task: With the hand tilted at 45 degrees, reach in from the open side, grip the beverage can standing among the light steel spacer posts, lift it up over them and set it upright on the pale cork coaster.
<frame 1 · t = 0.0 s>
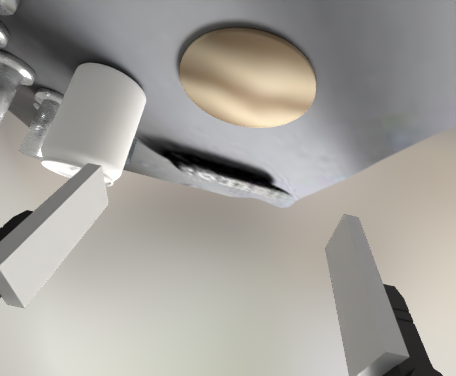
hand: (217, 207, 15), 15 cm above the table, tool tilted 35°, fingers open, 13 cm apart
spacer posts: (114, 84, 32), on the table
cork coaster: (246, 86, 28), on the table
beverage can: (114, 82, 32), on the table
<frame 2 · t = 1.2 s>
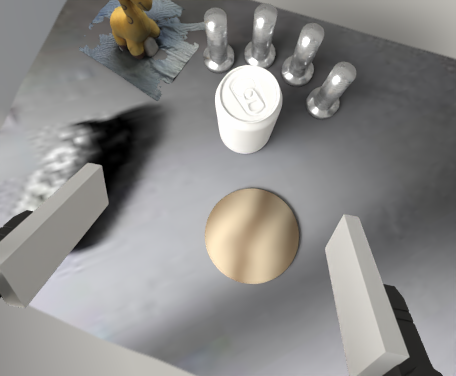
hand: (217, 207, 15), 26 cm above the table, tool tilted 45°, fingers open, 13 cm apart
spacer posts: (245, 130, 42), on the table
cork coaster: (251, 234, 40), on the table
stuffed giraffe: (144, 38, 45), on the table
beverage can: (244, 130, 42), on the table
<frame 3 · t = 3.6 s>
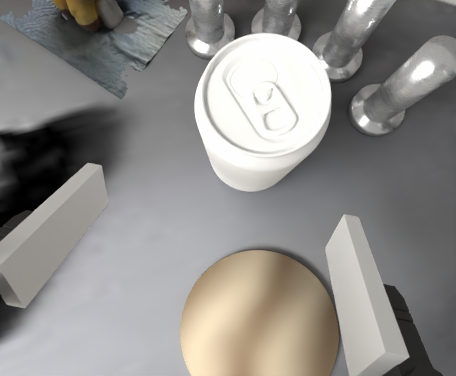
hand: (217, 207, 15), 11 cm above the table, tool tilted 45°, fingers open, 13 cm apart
spacer posts: (250, 151, 26), on the table
cork coaster: (258, 328, 24), on the table
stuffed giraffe: (102, 1, 29), on the table
beverage can: (250, 152, 26), on the table
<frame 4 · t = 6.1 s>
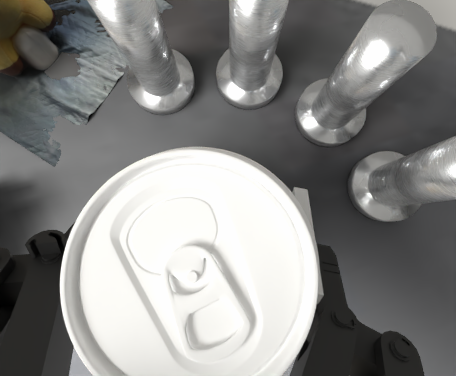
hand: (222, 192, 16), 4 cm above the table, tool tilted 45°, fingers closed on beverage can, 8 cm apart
spacer posts: (214, 244, 19), on the table
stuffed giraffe: (33, 33, 22), on the table
beverage can: (214, 243, 19), on the table, touching gripper
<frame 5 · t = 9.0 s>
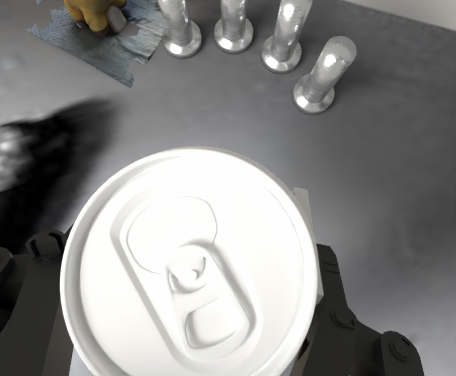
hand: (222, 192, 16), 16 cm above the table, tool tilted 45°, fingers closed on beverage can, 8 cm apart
spacer posts: (216, 130, 33), on the table
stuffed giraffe: (108, 11, 36), on the table
beverage can: (214, 243, 19), point 12 cm above the table, touching gripper
when the fingers open (6 cm above the table, at t = 11.7 s): beverage can drops 1 cm, resting on cork coaster.
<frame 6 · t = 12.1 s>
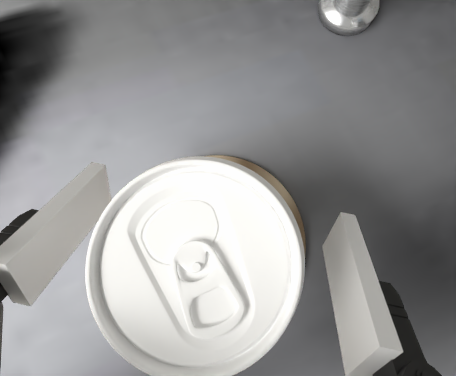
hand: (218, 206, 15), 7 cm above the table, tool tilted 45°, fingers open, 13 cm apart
spacer posts: (208, 53, 23), on the table
cork coaster: (215, 242, 21), on the table
beverage can: (213, 243, 21), resting on cork coaster
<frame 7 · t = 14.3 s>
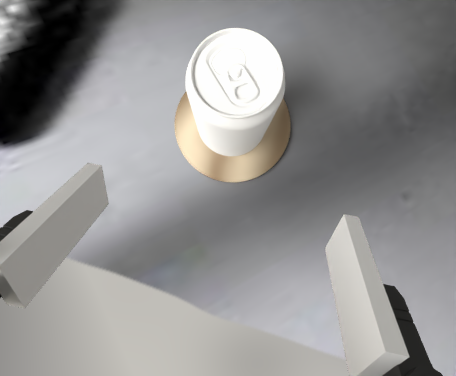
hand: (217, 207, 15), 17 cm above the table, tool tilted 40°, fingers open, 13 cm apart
cork coaster: (232, 125, 32), on the table
beverage can: (231, 125, 32), resting on cork coaster
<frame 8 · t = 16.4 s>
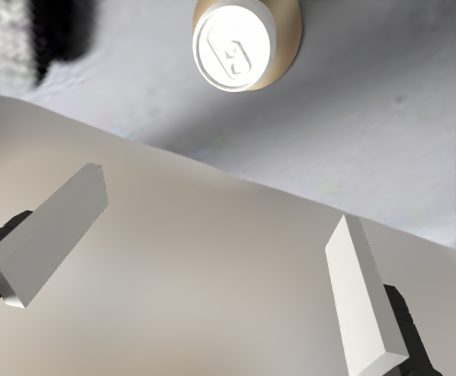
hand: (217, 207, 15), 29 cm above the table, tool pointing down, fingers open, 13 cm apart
cork coaster: (246, 34, 34), on the table
beverage can: (244, 35, 34), resting on cork coaster
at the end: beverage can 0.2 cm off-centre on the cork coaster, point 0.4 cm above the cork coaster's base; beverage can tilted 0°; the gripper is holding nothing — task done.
